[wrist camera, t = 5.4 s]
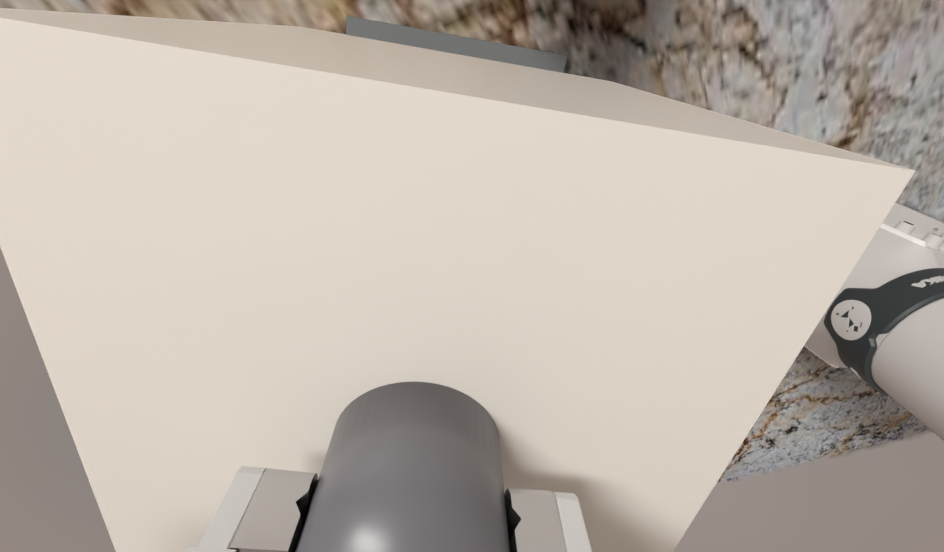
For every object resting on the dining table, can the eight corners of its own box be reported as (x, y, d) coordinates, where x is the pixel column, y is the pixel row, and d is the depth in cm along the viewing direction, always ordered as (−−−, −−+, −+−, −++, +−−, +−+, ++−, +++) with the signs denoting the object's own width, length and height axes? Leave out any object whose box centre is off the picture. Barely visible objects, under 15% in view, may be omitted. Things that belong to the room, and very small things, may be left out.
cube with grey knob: (611, 81, 23) (1290, 281, 4) (541, 327, 31) (675, 802, 12) (302, 26, 22) (-799, -42, 3) (307, 299, 29) (21, 794, 10)
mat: (566, 55, 39) (567, 55, 39) (524, 236, 47) (524, 238, 47) (348, 16, 37) (346, 15, 37) (343, 212, 45) (342, 214, 45)
